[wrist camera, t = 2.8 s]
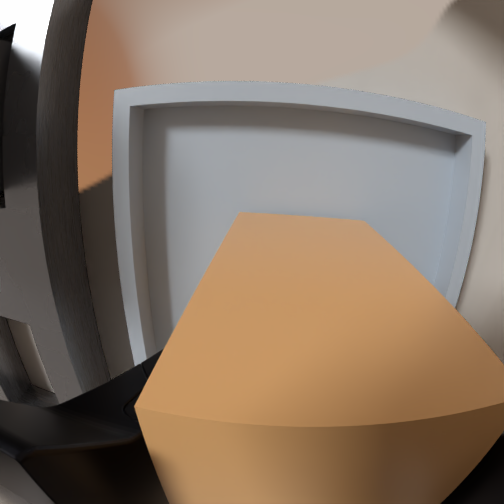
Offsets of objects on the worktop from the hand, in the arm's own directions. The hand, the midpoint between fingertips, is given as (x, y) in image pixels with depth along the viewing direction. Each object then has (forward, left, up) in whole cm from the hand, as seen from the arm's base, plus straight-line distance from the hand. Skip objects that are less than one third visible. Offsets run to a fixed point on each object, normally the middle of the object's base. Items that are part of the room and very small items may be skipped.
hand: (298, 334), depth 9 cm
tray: (0, 0, -3) cm, 3 cm away
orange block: (0, 0, -2) cm, 2 cm away
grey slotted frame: (+1, +13, -3) cm, 13 cm away
